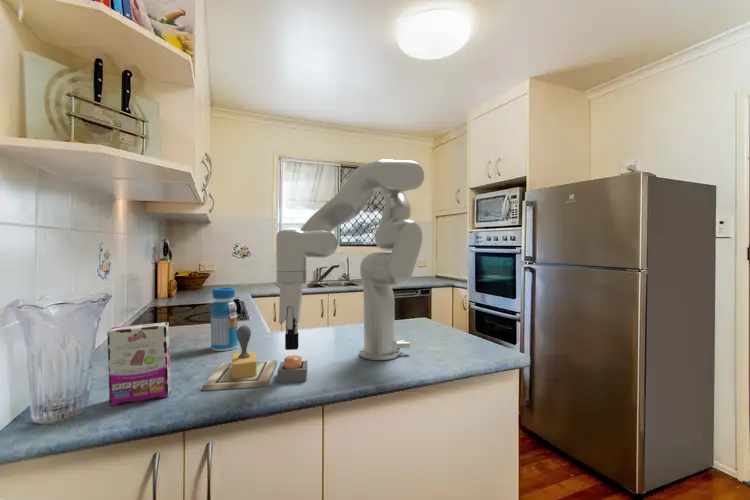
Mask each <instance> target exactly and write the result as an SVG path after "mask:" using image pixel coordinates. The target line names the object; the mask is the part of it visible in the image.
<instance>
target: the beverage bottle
mask: <svg viewBox="0 0 750 500" xmlns="http://www.w3.org/2000/svg"><path fill="white" fill-rule="evenodd" d="M235 291H236V290H235V288H234V287H217V288H213V290H212V300H214V302H213V303H212V305H211V307H210V313H211V315H210V318H209V319H210V334H211V335H210V337H211V338H210V339H211V343H210V346H211V350H212V351H216V352H225V351H231V350H234V349H236V348H238V346H239V345H238V344H239V341H238V339H237V330H238V315H239V314H238V312H237V310H238V306H237V304H236V302H235V300H234V298H235Z"/></svg>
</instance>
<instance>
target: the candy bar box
mask: <svg viewBox="0 0 750 500" xmlns="http://www.w3.org/2000/svg"><path fill="white" fill-rule="evenodd" d="M169 324H170V323H169V321H167V322H155V323H154V322H153V323H146V324H133V325H132V324H131V325H123V326H121V325H120V326H113V327H112V328H110V329H109V330H108V331H107V332H106V333H107V354H108V356H107V357H108V358H107V361H108V362H107V363H108V366H107V367H108V389H109V390H108V391H109V395H108V396H109V397H108V398H109V402H108V403H109V406H110V407H114V406H121V405H127V404H133V403H140V402H145V401H152V400H157V399H164V398H168V397H169V394H170V392H171V389H172V388H171V387H172V384H171V383H172V382H171V381H172V380H171V357H170V325H169Z"/></svg>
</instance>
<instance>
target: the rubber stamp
mask: <svg viewBox="0 0 750 500" xmlns="http://www.w3.org/2000/svg"><path fill="white" fill-rule="evenodd" d="M251 334H252V331H251V328H250V327H249V326H247V325H245V324H244V325H240V326H239V327H237V341H238V344H239V346H240V348H241V349H240V350H241V351H240V352H234V353H232V356H231V363H232V378H233V379H235V378H242V377H250V376H256V374H257V362H256V361H257V359H256V358H257V357H256V352H255V351H254V350H251V351H247V349H248V345H249V342H250V338H251Z"/></svg>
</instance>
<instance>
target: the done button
mask: <svg viewBox="0 0 750 500" xmlns="http://www.w3.org/2000/svg"><path fill="white" fill-rule="evenodd" d="M302 359H303V358H302V356H301V355H297V354H296V355H294V354H293V355H287V356H285V357H284V360H283V362H284V369H301V368H302V361H303V360H302Z"/></svg>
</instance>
